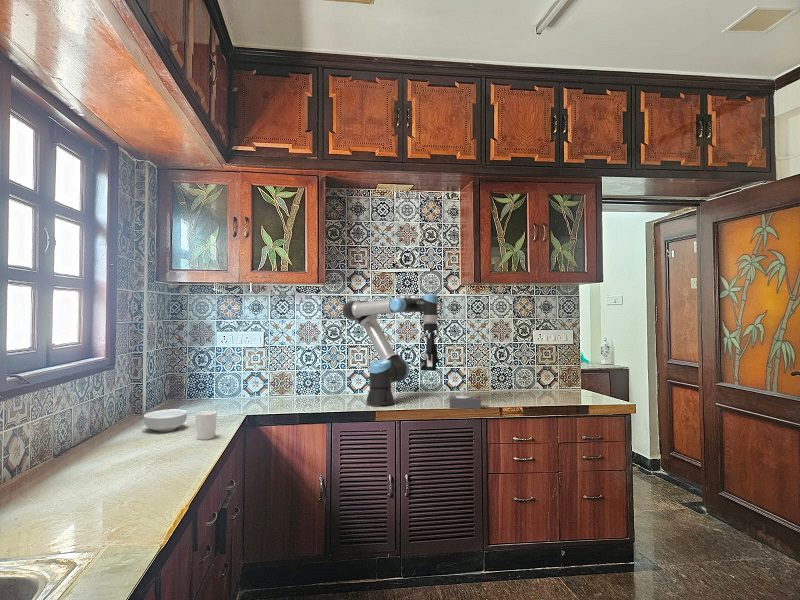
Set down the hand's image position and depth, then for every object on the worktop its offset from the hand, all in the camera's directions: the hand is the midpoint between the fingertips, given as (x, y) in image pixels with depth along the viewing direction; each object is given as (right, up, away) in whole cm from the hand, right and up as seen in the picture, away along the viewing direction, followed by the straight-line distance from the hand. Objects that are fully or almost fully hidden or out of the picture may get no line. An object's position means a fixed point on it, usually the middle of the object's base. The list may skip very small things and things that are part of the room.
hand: (430, 365), depth 264 cm
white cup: (-95, -21, -65) cm, 117 cm away
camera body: (+18, -21, -5) cm, 28 cm away
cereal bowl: (-118, -21, -52) cm, 130 cm away
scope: (0, -3, 0) cm, 3 cm away
